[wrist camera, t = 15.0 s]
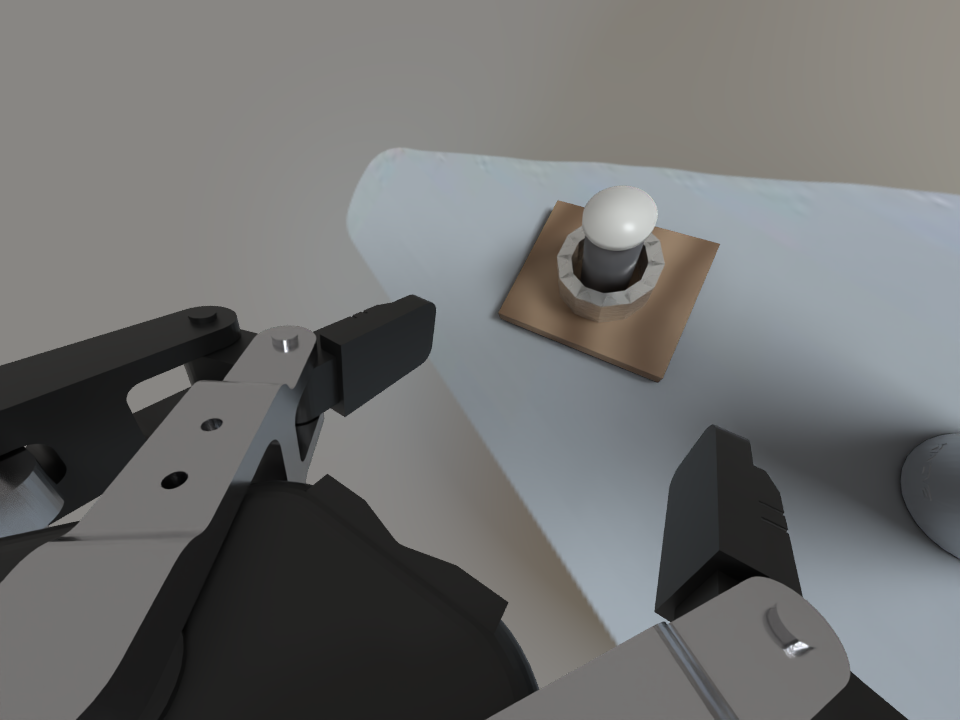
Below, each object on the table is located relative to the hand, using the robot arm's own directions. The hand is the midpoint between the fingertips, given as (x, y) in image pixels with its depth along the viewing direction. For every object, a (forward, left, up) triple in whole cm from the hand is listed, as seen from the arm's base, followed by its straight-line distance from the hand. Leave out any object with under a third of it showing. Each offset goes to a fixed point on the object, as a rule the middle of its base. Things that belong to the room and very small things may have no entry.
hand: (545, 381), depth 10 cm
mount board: (+2, -16, -24) cm, 29 cm away
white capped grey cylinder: (+2, -16, -22) cm, 27 cm away
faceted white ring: (+2, -16, -22) cm, 27 cm away
